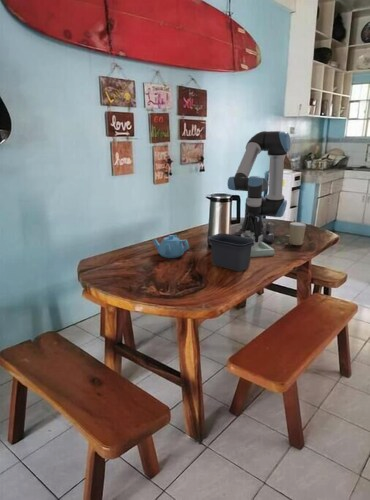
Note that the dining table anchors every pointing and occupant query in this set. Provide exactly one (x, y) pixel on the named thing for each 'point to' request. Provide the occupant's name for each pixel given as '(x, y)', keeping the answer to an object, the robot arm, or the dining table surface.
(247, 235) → the ring
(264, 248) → the tray
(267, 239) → the stake stand
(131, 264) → the dining table surface
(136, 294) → the dining table surface
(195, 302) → the dining table surface
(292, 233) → the coffee cup
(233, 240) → the storage bin
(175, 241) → the teapot
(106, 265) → the dining table surface
